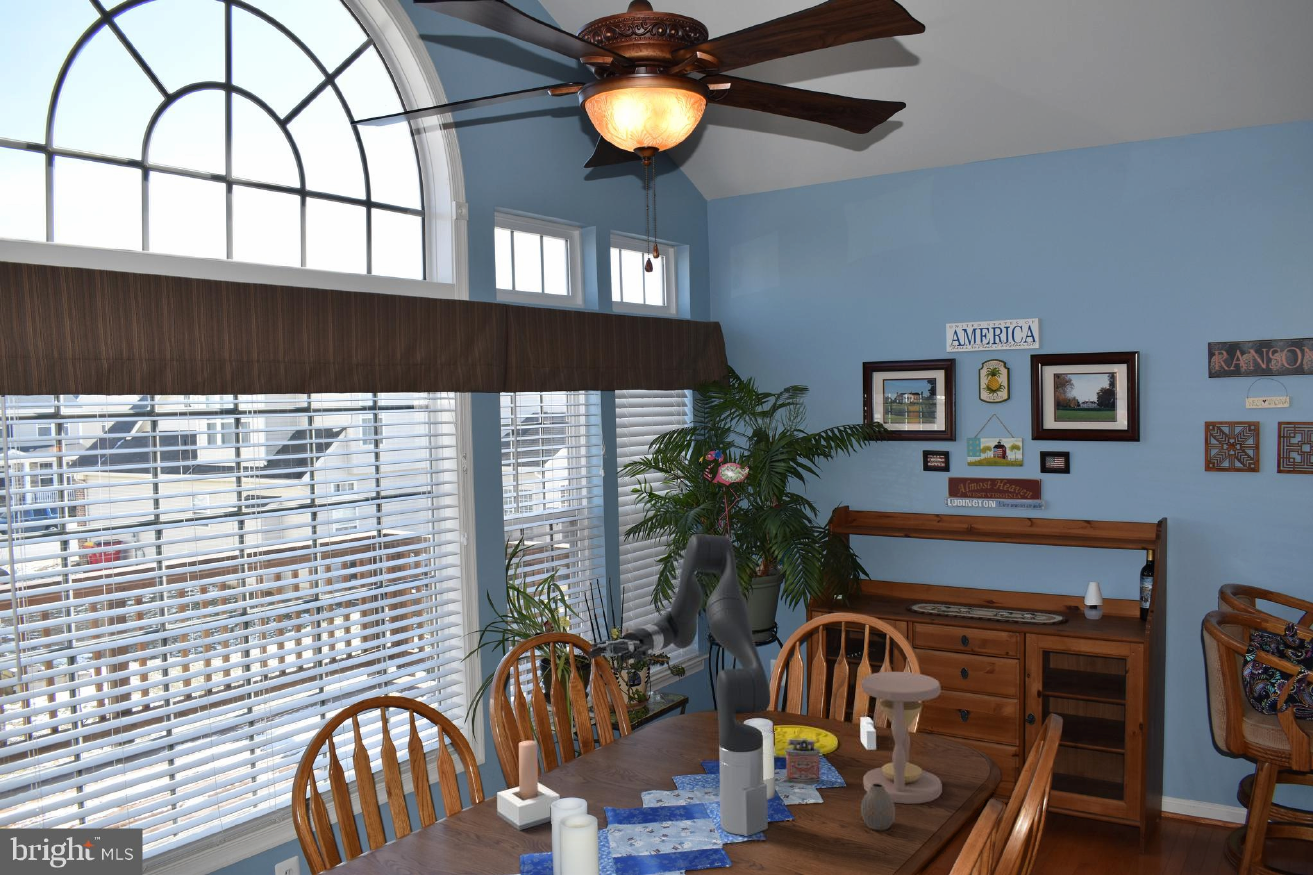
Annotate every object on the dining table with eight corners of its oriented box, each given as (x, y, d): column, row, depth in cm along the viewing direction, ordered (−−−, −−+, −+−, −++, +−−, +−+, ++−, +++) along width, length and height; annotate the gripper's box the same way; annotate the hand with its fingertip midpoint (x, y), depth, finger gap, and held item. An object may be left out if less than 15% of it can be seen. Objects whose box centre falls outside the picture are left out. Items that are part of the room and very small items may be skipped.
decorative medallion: (736, 753, 248) (736, 745, 248) (763, 725, 270) (763, 718, 270) (826, 764, 239) (826, 756, 238) (846, 735, 260) (846, 727, 260)
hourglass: (877, 770, 233) (875, 667, 232) (950, 783, 224) (948, 676, 223) (852, 795, 218) (851, 685, 217) (930, 809, 209) (928, 696, 208)
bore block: (560, 817, 208) (559, 795, 208) (519, 830, 202) (518, 806, 202) (537, 803, 216) (537, 781, 216) (497, 815, 210) (497, 792, 210)
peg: (541, 812, 209) (540, 744, 209) (525, 817, 206) (524, 747, 206) (532, 806, 212) (531, 739, 212) (516, 811, 210) (515, 742, 210)
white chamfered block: (878, 755, 244) (878, 733, 244) (837, 747, 251) (837, 725, 251) (901, 739, 256) (901, 718, 256) (862, 731, 263) (861, 711, 263)
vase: (870, 816, 206) (870, 776, 206) (900, 825, 201) (900, 783, 201) (855, 827, 200) (855, 786, 200) (886, 836, 196) (885, 794, 196)
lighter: (819, 778, 228) (819, 736, 228) (820, 783, 225) (820, 741, 225) (785, 777, 229) (784, 736, 229) (786, 783, 226) (785, 740, 225)
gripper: (619, 624, 246) (580, 637, 232) (666, 630, 238) (629, 644, 224) (619, 653, 246) (581, 668, 232) (666, 660, 238) (629, 676, 225)
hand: (604, 656), depth 228 cm, fingers open, 8 cm apart
